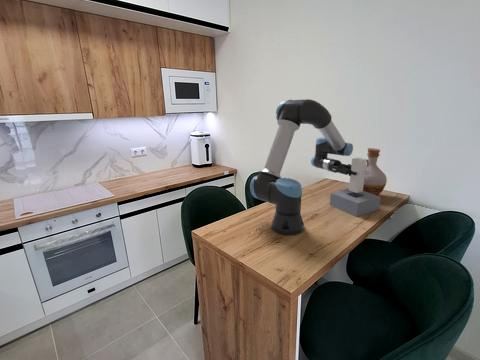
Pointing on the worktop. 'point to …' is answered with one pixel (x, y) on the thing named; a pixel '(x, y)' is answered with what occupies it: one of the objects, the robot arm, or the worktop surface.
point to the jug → (374, 174)
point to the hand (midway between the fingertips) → (366, 174)
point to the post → (356, 181)
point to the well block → (355, 202)
